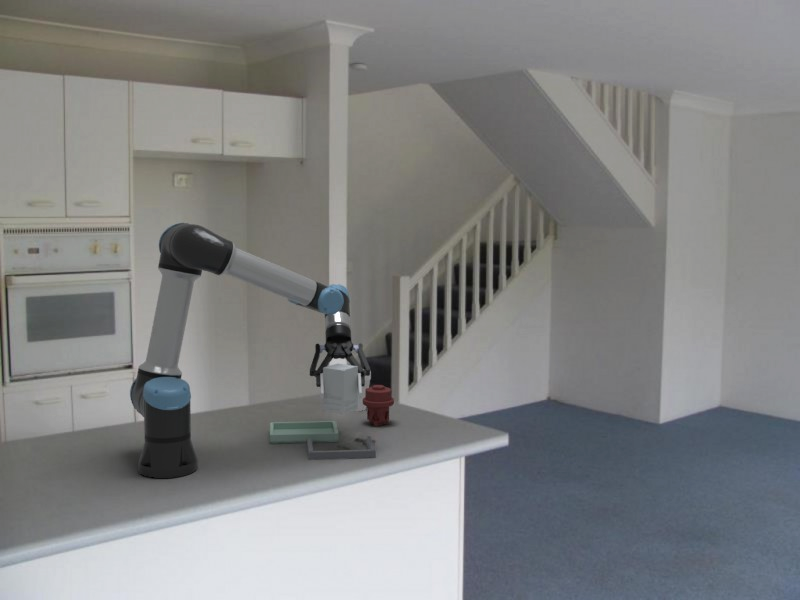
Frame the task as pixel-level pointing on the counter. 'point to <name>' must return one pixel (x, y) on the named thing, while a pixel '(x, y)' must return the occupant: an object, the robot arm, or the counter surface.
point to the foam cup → (363, 393)
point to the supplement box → (340, 388)
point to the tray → (303, 432)
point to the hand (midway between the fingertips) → (341, 395)
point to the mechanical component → (378, 404)
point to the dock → (342, 452)
